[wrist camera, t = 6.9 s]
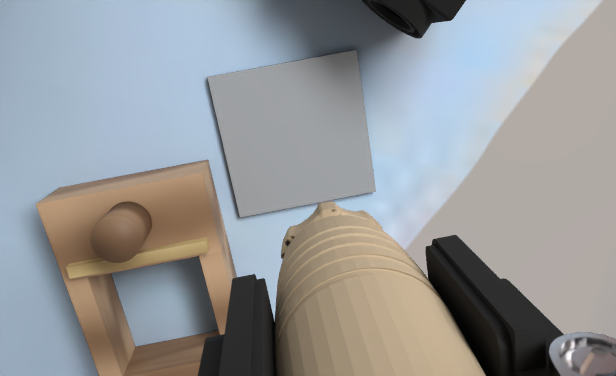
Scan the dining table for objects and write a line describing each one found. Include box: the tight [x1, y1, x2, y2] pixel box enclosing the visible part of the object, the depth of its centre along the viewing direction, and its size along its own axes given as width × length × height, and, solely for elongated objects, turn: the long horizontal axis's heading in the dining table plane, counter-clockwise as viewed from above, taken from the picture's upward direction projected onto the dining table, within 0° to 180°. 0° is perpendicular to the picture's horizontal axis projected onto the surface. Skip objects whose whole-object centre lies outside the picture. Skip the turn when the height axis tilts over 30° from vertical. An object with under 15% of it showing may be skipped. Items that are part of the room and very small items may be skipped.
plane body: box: [36, 160, 237, 376], centre depth 32 cm, size 15×10×6 cm
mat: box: [207, 50, 376, 217], centre depth 33 cm, size 10×10×1 cm
